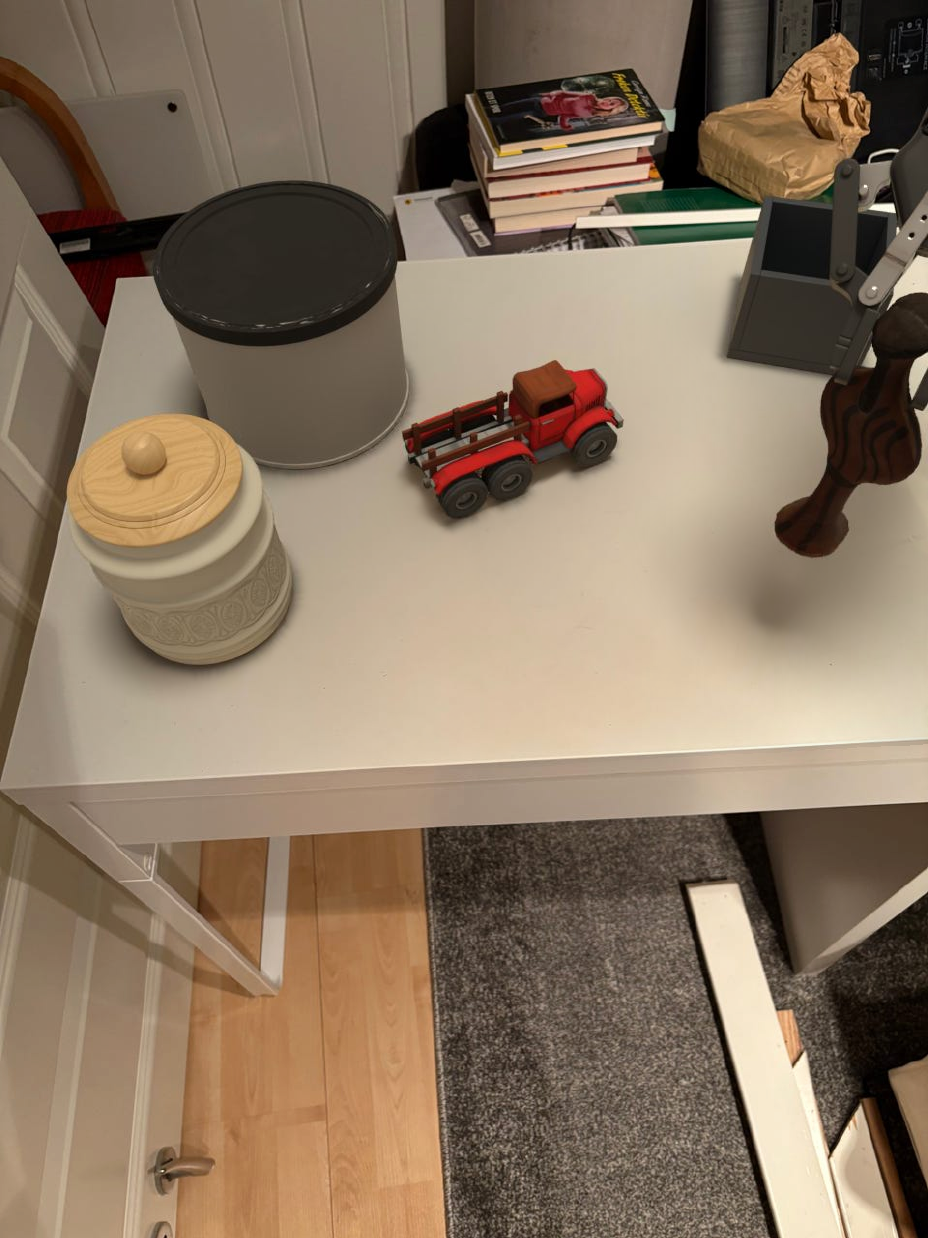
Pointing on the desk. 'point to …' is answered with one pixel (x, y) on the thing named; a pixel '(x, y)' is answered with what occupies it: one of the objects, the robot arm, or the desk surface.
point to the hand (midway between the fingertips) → (879, 393)
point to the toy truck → (513, 436)
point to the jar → (181, 537)
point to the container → (289, 318)
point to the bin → (800, 284)
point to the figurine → (863, 431)
